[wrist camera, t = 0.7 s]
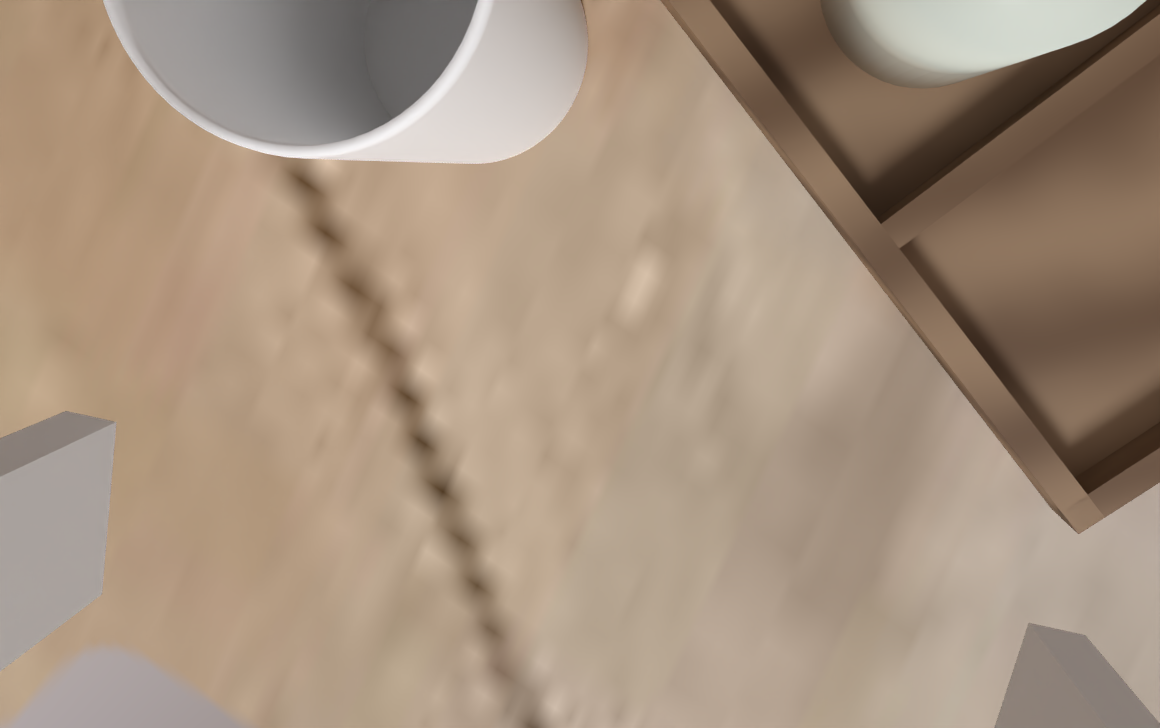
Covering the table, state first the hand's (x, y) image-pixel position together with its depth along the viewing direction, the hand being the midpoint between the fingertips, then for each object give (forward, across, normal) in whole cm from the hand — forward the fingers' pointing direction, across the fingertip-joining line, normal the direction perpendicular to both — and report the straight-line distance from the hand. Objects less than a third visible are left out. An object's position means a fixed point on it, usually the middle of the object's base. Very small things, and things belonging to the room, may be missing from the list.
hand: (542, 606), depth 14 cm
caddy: (+22, +12, +10) cm, 27 cm away
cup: (+23, -7, +9) cm, 26 cm away
